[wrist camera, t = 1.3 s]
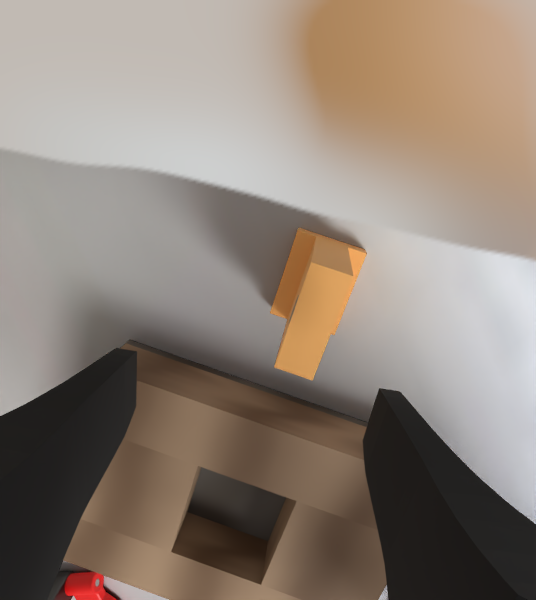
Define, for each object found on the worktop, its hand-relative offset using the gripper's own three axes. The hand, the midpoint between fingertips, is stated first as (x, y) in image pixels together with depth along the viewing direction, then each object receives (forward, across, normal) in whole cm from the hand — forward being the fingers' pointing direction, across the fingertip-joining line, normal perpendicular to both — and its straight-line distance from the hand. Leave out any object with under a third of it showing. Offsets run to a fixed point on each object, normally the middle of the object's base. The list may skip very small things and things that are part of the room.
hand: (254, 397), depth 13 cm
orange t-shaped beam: (+10, -2, 0) cm, 11 cm away
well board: (+9, 0, +14) cm, 17 cm away
